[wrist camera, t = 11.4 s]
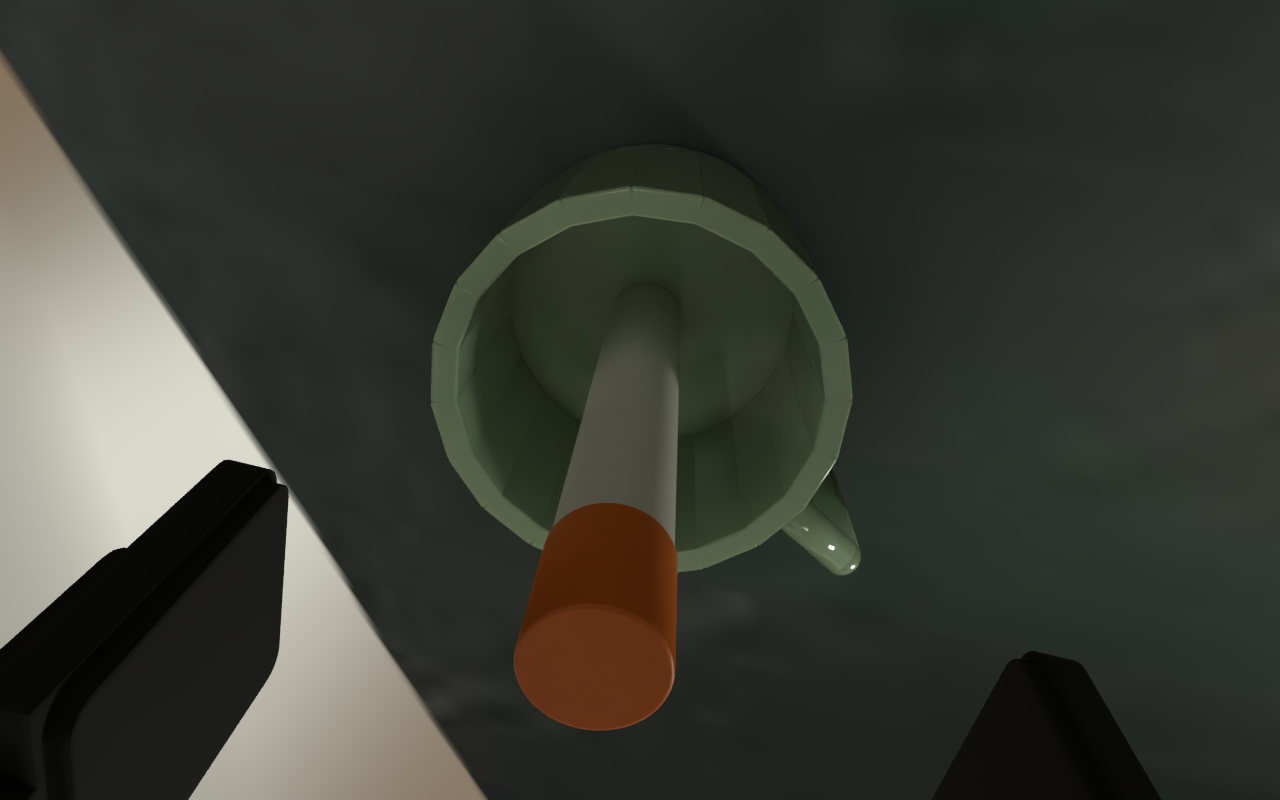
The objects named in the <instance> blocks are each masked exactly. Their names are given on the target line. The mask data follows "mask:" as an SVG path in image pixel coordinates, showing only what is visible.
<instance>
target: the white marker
mask: <svg viewBox="0 0 1280 800" xmlns="http://www.w3.org/2000/svg"><path fill="white" fill-rule="evenodd" d="M680 328H681V313H680V308H679V306H678V303H677V301H676V300H675V298H674V297H673V296H672V295H671V294H670V293H669V292H668V291H667V290H665V289H664V288H662V287H659V286H657V285H653V284H638V285H634V286H631V287H629V288H627V289H626V290H624V291H623V292H622V293H621V294H620V295H619V296H618V297H617V299H616V300H615V302H614V304H613V307H612V311H611V314H610V318H609V322H608V325H607V329H606V333H605V336H604V340H603V344H602V347H601V351H600V355H599V358H598V362H597V366H596V369H595V373H594V377H593V380H592V384H591V388H590V391H589V395H588V399H587V402H586V406H585V410H584V413H583V417H582V421H581V424H580V428H579V432H578V435H577V439H576V443H575V446H574V450H573V454H572V457H571V461H570V465H569V468H568V472H567V476H566V479H565V483H564V487H563V490H562V494H561V498H560V501H559V505H558V509H557V512H556V516H555V520H554V523H553V527H552V530H551V531H550V532H549V534H548V536H547V538H546V541H545V544H544V548H543V551H542V555H541V559H540V562H539V566H538V569H537V573H536V576H535V580H534V584H533V587H532V591H531V594H530V598H529V602H528V605H527V609H526V612H525V616H524V619H523V623H522V627H521V630H520V634H519V637H518V641H517V645H516V648H515V653H514V668H515V674H516V677H517V680H518V683H519V685H520V687H521V689H522V691H523V693H524V694H525V695H526V697H527V698H528V699H529V701H530V702H531V703H532V704H533V705H534V706H535V707H536V708H538V709H539V710H540V711H541V712H543V713H544V714H546V715H547V716H549V717H550V718H552V719H554V720H556V721H558V722H561V723H563V724H566V725H568V726H572V727H576V728H581V729H587V730H612V729H619V728H623V727H627V726H630V725H633V724H635V723H637V722H640V721H642V720H644V719H645V718H647V717H648V716H650V715H651V714H652V713H654V712H655V711H656V710H657V709H658V708H659V707H660V706H661V705H662V703H663V702H664V701H665V699H666V698H667V696H668V695H669V693H670V691H671V688H672V686H673V682H674V678H675V662H676V613H677V564H678V561H677V553H676V549H675V517H676V479H677V441H678V404H679V366H680Z"/></svg>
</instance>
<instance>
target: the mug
mask: <svg viewBox="0 0 1280 800" xmlns="http://www.w3.org/2000/svg"><path fill="white" fill-rule="evenodd" d="M638 284H653V285H657V286H659V287H662V288H664V289H665V290H667V291H668V292H669V293H670V294H671V295H672V296H673V297H674V298H675V300H676V301H677V303H678V306H679V308H680V313H681V328H680V366H679V404H678V441H677V479H676V517H675V549H676V553H677V561H678V564H677V572H685V571H693V570H701V569H703V567H704V568H707V567H709V566H711V565H714V564H716V563H719V562H721V561H724V560H726V559H728V558H731V557H733V556H736V555H738V554H740V553H743V552H745V551H748V550H750V549H752V548H755V547H756V546H757V545H761V544H762V543H763V542H764V541H766V540H767V539H768V538H769V537H771V536H772V535H773V534H774V533H776V532H777V531H778V530H779V529H780V528H781V529H782V530H783V531H784V532H785V533H786V534H787V535H789V536H790V537H791V538H792V539H793V540H794V541H795V542H796V543H798V544H799V545H800V546H801V547H802V548H803V549H804V550H806V551H807V552H808V553H809V554H810V555H811V556H812V557H813V558H815V559H816V560H817V561H818V562H819V563H820V564H821V565H823V566H824V567H825V568H826V569H827V570H828V571H830V572H831V573H833V574H836V575H841V576H842V575H848V574H850V573H852V572H854V571H855V570H856V569H857V568H858V566H859V564H860V561H861V552H860V549H859V545H858V542H857V539H856V536H855V533H854V530H853V527H852V524H851V521H850V518H849V515H848V512H847V509H846V506H845V503H844V500H843V497H842V494H841V491H840V488H839V485H838V482H837V479H836V476H835V473H834V472H833V470H832V469H831V468H832V467H833V465H834V464H835V462H836V460H837V457H838V456H839V452H840V448H841V444H842V440H843V436H844V433H845V429H846V425H847V421H848V417H849V413H850V409H851V405H852V399H853V392H852V382H851V371H850V360H849V350H848V339H847V337H846V333H845V331H844V329H843V327H842V325H841V323H840V320H839V318H838V316H837V314H836V312H835V310H834V308H833V306H832V304H831V301H830V299H829V297H828V295H827V293H826V291H825V289H824V287H823V284H822V282H821V280H820V278H819V276H818V275H817V273H816V271H815V269H814V267H813V265H812V263H811V261H810V259H809V257H808V255H807V254H806V252H805V250H804V248H803V246H802V244H801V242H800V240H799V238H798V236H797V235H796V233H795V231H794V229H793V227H792V225H791V223H790V221H789V219H788V218H787V217H786V215H785V214H784V213H783V212H782V211H781V209H780V208H779V207H778V205H777V204H776V203H775V202H774V201H773V200H772V198H771V197H770V196H769V195H768V194H767V193H766V191H764V190H763V189H762V188H761V187H760V186H759V185H758V184H757V183H755V182H754V181H753V180H752V179H751V178H750V177H748V176H747V175H745V174H744V173H742V172H741V171H739V170H738V169H736V168H735V167H733V166H732V165H730V164H728V163H726V162H724V161H722V160H720V159H718V158H716V157H714V156H711V155H708V154H705V153H702V152H699V151H696V150H693V149H689V148H684V147H678V146H673V145H662V144H640V145H629V146H623V147H618V148H614V149H610V150H605V151H602V152H600V153H597V154H594V155H592V156H589V157H587V158H584V159H582V160H580V161H578V162H577V163H575V164H573V165H571V166H569V167H568V168H566V169H564V170H563V171H562V172H560V173H559V174H557V175H556V176H555V177H553V178H552V179H550V180H548V181H547V182H546V183H545V184H543V185H542V186H541V187H540V188H539V190H538V191H537V192H536V193H535V194H534V195H533V196H532V197H531V198H530V199H529V200H528V201H527V202H526V204H525V205H524V206H523V207H522V208H521V209H520V210H519V211H518V212H517V213H516V214H515V215H514V216H513V217H512V219H511V220H510V221H509V222H508V223H507V224H506V225H505V226H504V227H503V228H502V229H501V230H500V231H499V233H498V234H497V235H496V236H495V237H494V238H493V239H492V240H491V241H490V243H489V244H488V245H487V246H486V247H485V248H484V249H483V251H482V252H481V253H480V254H479V255H478V256H477V257H476V259H475V260H474V261H473V262H472V263H471V264H470V265H469V267H468V268H467V269H466V270H465V271H464V272H463V273H462V274H461V276H460V277H459V278H458V279H457V282H456V283H455V284H454V286H453V288H452V291H451V293H450V296H449V298H448V301H447V304H446V306H445V309H444V311H443V314H442V316H441V319H440V321H439V324H438V327H437V329H436V332H435V334H434V337H433V343H432V360H431V401H432V402H431V406H432V409H433V413H434V416H435V419H436V422H437V425H438V428H439V432H440V435H441V438H442V441H443V444H444V447H445V451H446V454H447V457H448V459H449V461H450V463H451V464H452V465H453V467H454V468H455V470H456V471H457V473H458V474H459V475H460V477H461V478H462V480H463V481H464V482H465V484H466V485H467V487H468V488H469V490H470V491H471V492H472V494H473V495H474V497H475V498H476V499H477V501H478V502H479V504H480V505H481V506H482V507H484V509H485V510H486V511H488V512H489V513H490V514H491V515H493V516H494V517H495V518H496V519H498V520H499V521H500V522H501V523H503V524H504V525H505V526H507V527H508V528H509V529H510V530H512V531H513V532H514V533H515V534H517V535H518V536H519V537H520V538H522V539H523V540H524V541H525V542H527V543H531V545H532V546H534V547H536V548H538V549H541V550H543V548H544V544H545V541H546V538H547V536H548V534H549V532H550V531H551V530H552V527H553V523H554V520H555V516H556V512H557V509H558V505H559V501H560V498H561V494H562V490H563V487H564V483H565V479H566V476H567V472H568V468H569V465H570V461H571V457H572V454H573V450H574V446H575V443H576V439H577V435H578V432H579V428H580V424H581V421H582V417H583V413H584V410H585V406H586V402H587V399H588V395H589V391H590V388H591V384H592V380H593V377H594V373H595V369H596V366H597V362H598V358H599V355H600V351H601V347H602V344H603V340H604V336H605V333H606V329H607V325H608V322H609V318H610V314H611V311H612V307H613V304H614V302H615V300H616V299H617V297H618V296H619V295H620V294H621V293H622V292H623V291H624V290H626V289H627V288H629V287H631V286H634V285H638Z"/></svg>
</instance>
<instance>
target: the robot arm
mask: <svg viewBox="0 0 1280 800" xmlns="http://www.w3.org/2000/svg"><path fill="white" fill-rule="evenodd" d="M288 497H289V496H288V488H287V486H285V485H282V484H278V483H277V478H276V475H275V472H274V471H272V470H270V469H266V468H262V467H258V466H254V465H249V464H245V463H241V462H237V461H232V460H224V461H222V462H221V463H219V464H218V465H217V466H216V467H215V468H214V469H212V470H211V471H210V472H209V473H208V474H207V475H206V476H205V477H204V478H203V479H202V480H200V481H199V482H198V483H197V484H196V485H195V486H194V487H193V488H192V489H191V490H190V491H189V492H187V494H185V495H184V496H183V497H182V498H181V499H180V500H179V501H178V502H177V503H175V504H174V505H173V506H172V507H171V508H170V509H169V510H168V511H167V512H166V513H165V514H163V515H162V516H161V517H160V518H159V519H158V520H157V521H156V522H155V523H154V524H153V525H151V526H150V527H149V528H148V529H147V530H146V531H145V532H144V533H143V534H142V535H141V536H140V537H138V538H137V539H136V540H135V541H134V542H133V543H132V544H131V545H130V546H129V547H128V548H120V549H116V550H113V551H112V552H110V553H109V554H107V555H106V556H104V557H103V558H102V559H101V560H100V561H98V562H97V563H96V564H95V565H94V566H93V567H92V568H91V569H89V570H88V571H87V572H86V573H85V574H84V575H83V576H82V577H80V578H79V579H78V580H77V581H76V582H75V583H74V584H73V585H72V586H70V587H69V588H68V589H67V590H66V591H65V592H64V593H63V594H62V595H61V596H59V597H58V598H57V599H56V600H55V601H54V602H53V603H52V604H51V605H49V606H48V607H47V608H46V609H45V610H44V611H43V612H41V613H40V614H39V615H38V616H37V617H36V618H35V619H34V620H33V621H31V622H30V623H29V624H28V625H27V626H26V627H25V628H24V629H23V630H21V631H20V632H19V633H18V634H17V635H16V636H15V637H14V638H13V639H12V640H10V641H9V642H8V643H7V644H6V645H5V646H4V647H3V648H1V649H0V800H188V799H189V798H190V796H191V794H192V793H193V791H194V790H195V789H196V787H197V786H198V784H199V782H200V781H201V779H202V778H203V776H204V775H205V773H206V772H207V770H208V769H209V767H210V766H211V764H212V763H213V761H214V760H215V758H216V756H217V755H218V754H219V752H220V750H221V749H222V748H223V746H224V744H225V743H226V742H227V740H228V739H229V737H230V735H231V734H232V732H233V731H234V729H235V728H236V726H237V725H238V723H239V722H240V720H241V719H242V717H243V716H244V714H245V713H246V711H247V710H248V708H249V707H250V705H251V704H252V702H253V701H254V699H255V698H256V696H257V695H258V693H259V692H260V690H261V688H262V687H263V686H264V684H265V682H266V681H267V679H268V677H269V676H270V674H271V672H272V670H273V668H274V665H275V662H276V659H277V655H278V651H279V641H280V625H281V609H282V593H283V576H284V561H285V545H286V528H287V512H288ZM932 800H1161V798H1160V797H1159V795H1158V793H1157V792H1156V790H1155V788H1154V786H1153V785H1152V783H1151V781H1150V780H1149V778H1148V776H1147V774H1146V773H1145V771H1144V769H1143V768H1142V766H1141V764H1140V762H1139V761H1138V759H1137V757H1136V756H1135V754H1134V752H1133V750H1132V749H1131V747H1130V745H1129V744H1128V742H1127V740H1126V738H1125V737H1124V735H1123V733H1122V732H1121V730H1120V728H1119V727H1118V725H1117V723H1116V721H1115V720H1114V718H1113V716H1112V715H1111V713H1110V711H1109V709H1108V708H1107V706H1106V704H1105V703H1104V701H1103V699H1102V697H1101V696H1100V694H1099V692H1098V691H1097V689H1096V687H1095V685H1094V684H1093V682H1092V680H1091V679H1090V677H1089V675H1088V673H1087V672H1086V670H1085V669H1084V668H1083V666H1082V665H1081V664H1080V663H1078V662H1076V661H1074V660H1070V659H1065V658H1061V657H1057V656H1053V655H1048V654H1044V653H1040V652H1036V651H1031V652H1028V653H1026V654H1025V655H1023V657H1022V658H1021V659H1013V660H1011V661H1010V662H1009V663H1008V664H1007V666H1006V667H1005V669H1004V671H1003V672H1002V674H1001V676H1000V678H999V679H998V681H997V683H996V685H995V687H994V688H993V690H992V692H991V694H990V696H989V697H988V699H987V701H986V703H985V705H984V706H983V708H982V710H981V712H980V714H979V715H978V717H977V719H976V721H975V723H974V724H973V726H972V728H971V730H970V732H969V733H968V735H967V737H966V739H965V741H964V742H963V744H962V746H961V748H960V749H959V751H958V753H957V755H956V757H955V758H954V760H953V762H952V764H951V766H950V767H949V769H948V771H947V773H946V775H945V776H944V778H943V780H942V782H941V784H940V785H939V787H938V789H937V791H936V793H935V794H934V796H933V798H932Z"/></svg>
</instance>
